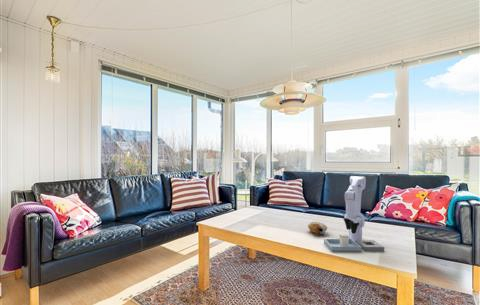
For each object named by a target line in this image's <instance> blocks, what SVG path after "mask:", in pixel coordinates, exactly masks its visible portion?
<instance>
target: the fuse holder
mask: <svg viewBox="0 0 480 305" xmlns="http://www.w3.org/2000/svg"><path fill="white" fill-rule="evenodd" d="M355 242H356V243H357V244H359V245H360V246H361V247H362V251H363V252H385V246H383V245H382V244H380V243H379V242H377V241H375V240H374V239H372V240H371V239H369V240H368V239H364V240H355Z"/></svg>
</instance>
